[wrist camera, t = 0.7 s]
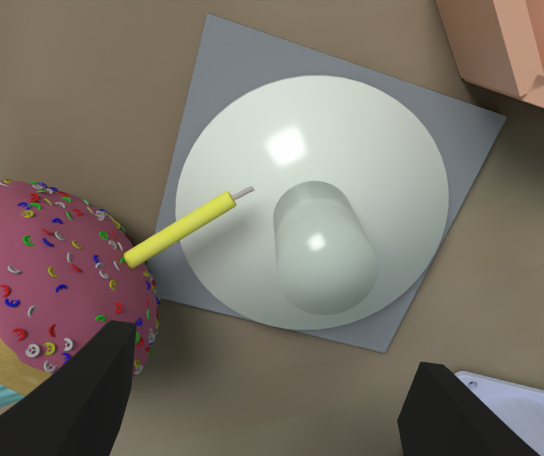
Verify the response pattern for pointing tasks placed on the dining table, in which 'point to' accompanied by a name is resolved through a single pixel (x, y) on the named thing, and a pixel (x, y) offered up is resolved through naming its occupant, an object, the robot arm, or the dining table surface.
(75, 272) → the cupcake
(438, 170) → the lid
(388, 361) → the dining table surface
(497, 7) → the bowl
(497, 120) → the mat
